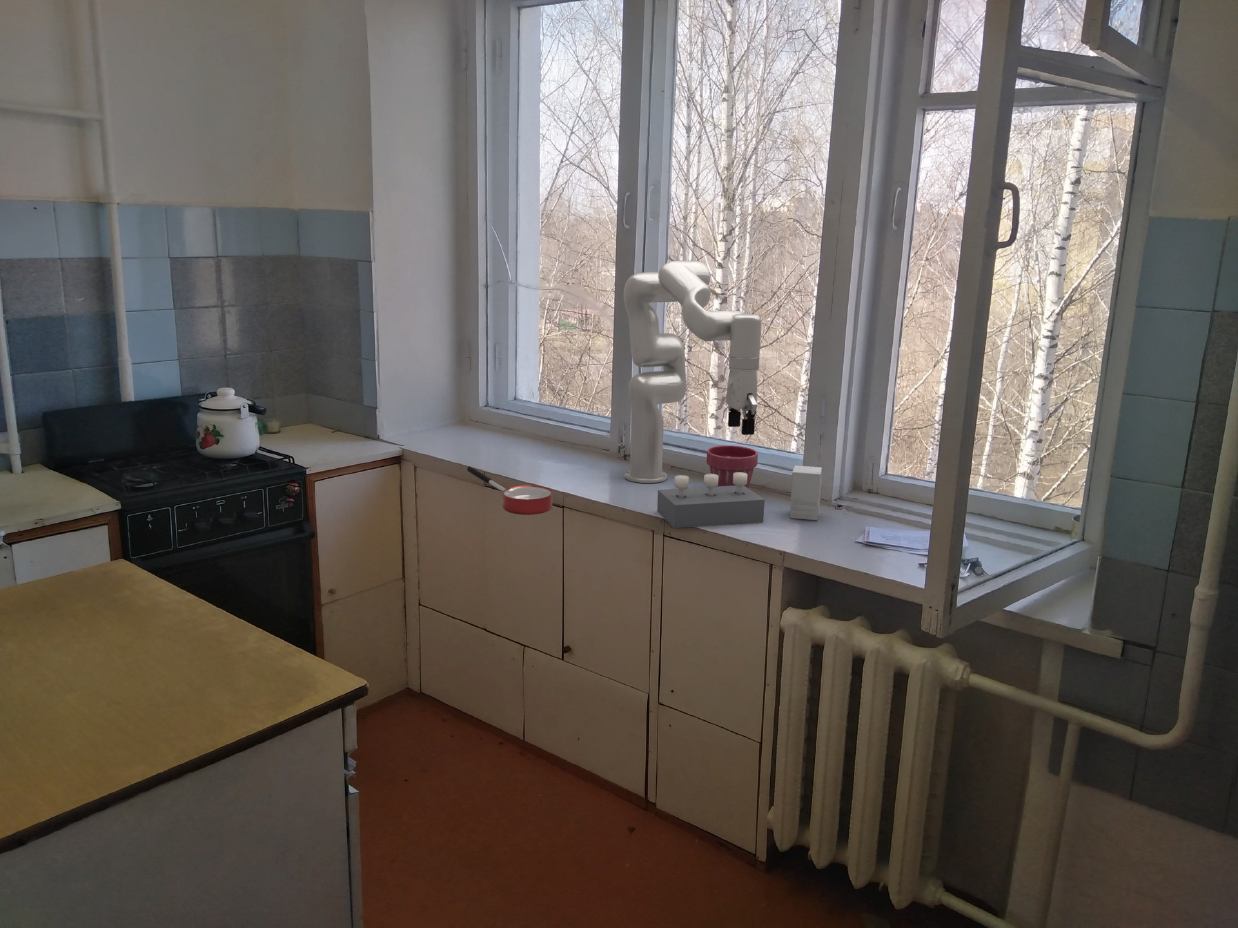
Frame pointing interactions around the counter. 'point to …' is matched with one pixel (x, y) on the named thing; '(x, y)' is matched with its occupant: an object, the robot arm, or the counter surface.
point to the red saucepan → (521, 497)
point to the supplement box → (805, 492)
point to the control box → (710, 507)
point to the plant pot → (731, 462)
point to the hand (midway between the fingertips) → (740, 430)
